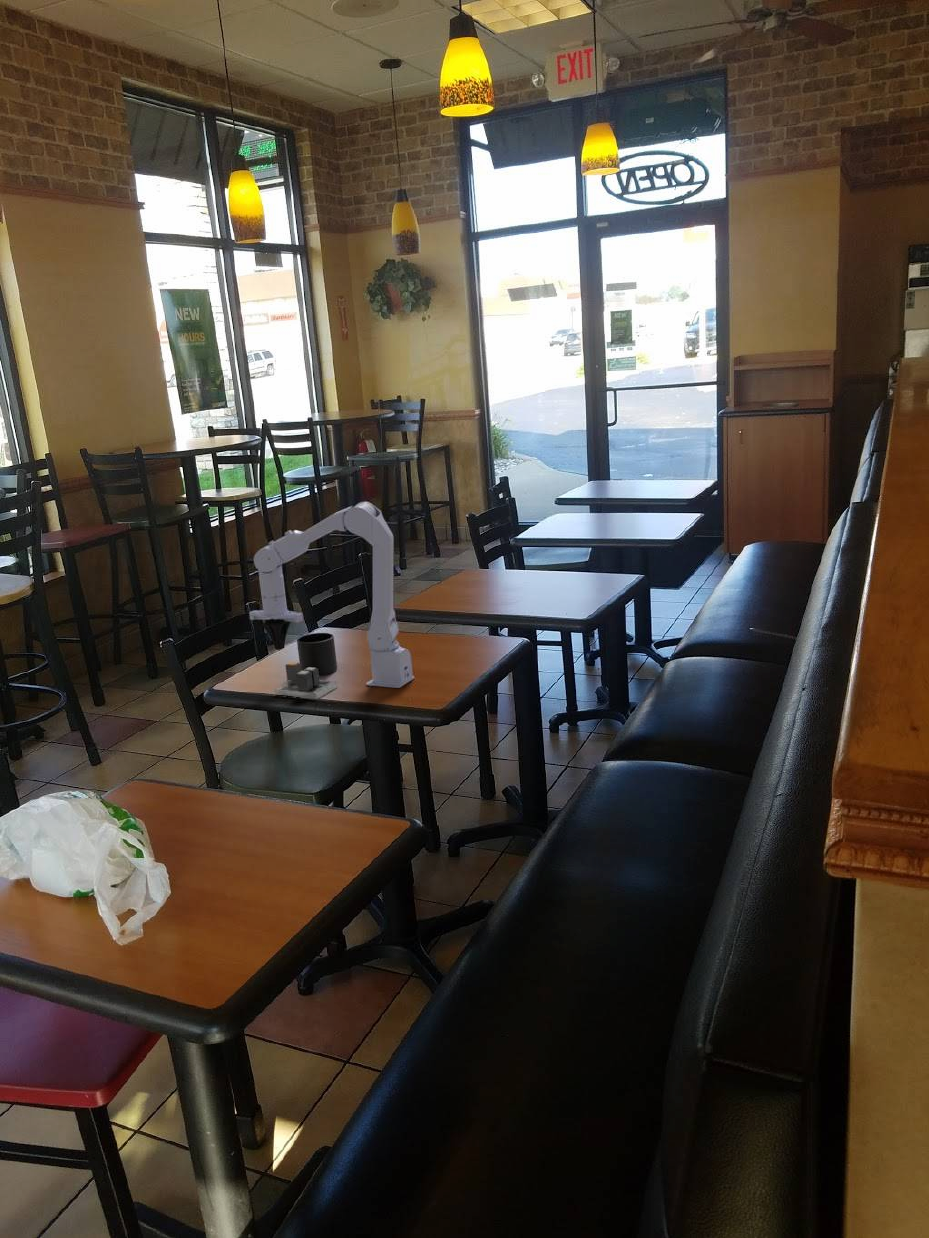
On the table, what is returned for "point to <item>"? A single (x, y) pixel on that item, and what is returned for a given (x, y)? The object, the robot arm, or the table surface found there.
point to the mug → (317, 652)
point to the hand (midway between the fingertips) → (279, 648)
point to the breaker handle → (292, 670)
